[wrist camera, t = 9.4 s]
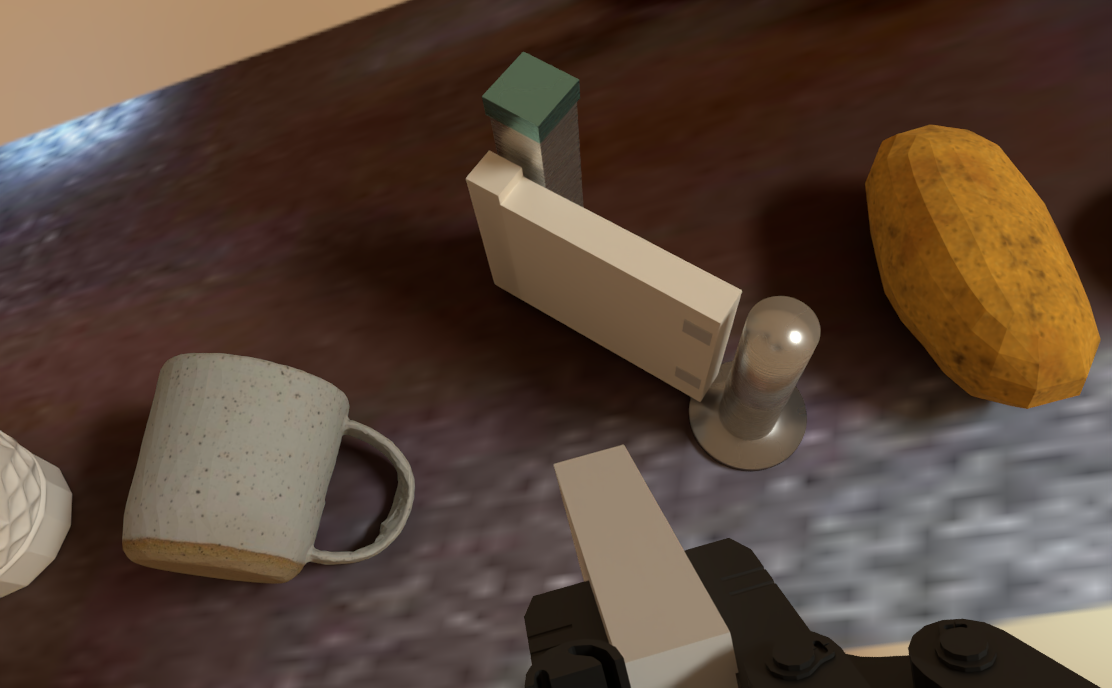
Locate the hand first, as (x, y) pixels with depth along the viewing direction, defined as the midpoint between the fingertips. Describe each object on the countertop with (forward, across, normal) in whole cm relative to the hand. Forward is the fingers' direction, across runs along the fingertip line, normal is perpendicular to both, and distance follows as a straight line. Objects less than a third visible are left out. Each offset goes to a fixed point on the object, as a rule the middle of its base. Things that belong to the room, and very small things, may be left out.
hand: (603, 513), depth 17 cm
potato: (+21, +20, -5) cm, 29 cm away
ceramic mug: (+21, -12, -6) cm, 24 cm away
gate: (+22, +4, -2) cm, 23 cm away
